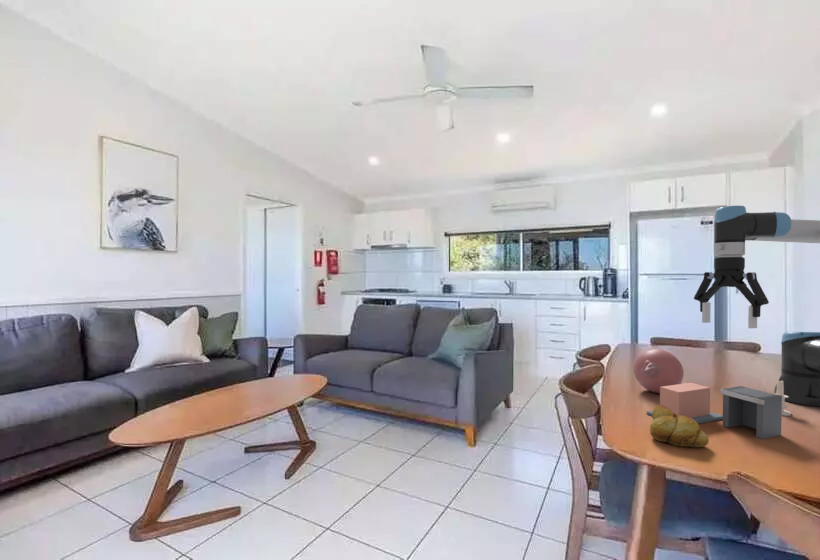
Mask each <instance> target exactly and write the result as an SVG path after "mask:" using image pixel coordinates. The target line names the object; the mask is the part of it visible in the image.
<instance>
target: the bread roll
mask: <svg viewBox="0 0 820 560" xmlns="http://www.w3.org/2000/svg"><path fill="white" fill-rule="evenodd" d="M651 417H652V420H651V423H650V428H649V433H650V436H652V438H654V439H655V441H656V440H657V441H658V442H665V443H669V444H670V445H673V446H678V447H692V448H703V447H706V446H707V445H708V444H709V441H710V440H709V439H710V438H709V436H708V435H707V434H706V432H704V431H703V430H701V429H700V425H699V424H700V423H697V422H696V421H695V420H693V419H692V418H690V417H687V416H684V415H678V416H676V414H675V413H674V412H672V411H671V410H670V409H669V408H667V407H665V406H663V405H660V404H659V405H656V406H655V407H654V408H653V412H652V416H651Z"/></svg>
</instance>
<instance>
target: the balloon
mask: <svg viewBox="0 0 820 560" xmlns="http://www.w3.org/2000/svg"><path fill="white" fill-rule="evenodd" d="M633 374H634V377H635V379H636V381H637V382H638V383H639V385H640V386H642V387H643V389H645V390H647V391H650V392H652V393H656V394H660V387H662V386H670V385H677V384H682V382H683V380H684V377H685V375H684V366H683V365H682V362H680V360H679V358H677V357H676V355H674V354H672V353H671V352H669V351H667V350H664V349H660V348H659V349H658V348H657V349H656V348H655V349H648V350H646V351H644V352H642V353H640V354H639V355H638V356H637V357H636V359H635V361H634V363H633Z"/></svg>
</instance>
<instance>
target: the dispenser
mask: <svg viewBox="0 0 820 560" xmlns="http://www.w3.org/2000/svg"><path fill="white" fill-rule="evenodd" d="M719 391H720V395H722V415H723V419H722V426H723V427H726V428H733V427H738V426H745V427H748V428H752V429H755V430H756V431H755V432H756V433H755V437H756V438H758V439H761V440H764V439H771V438H773V437H778V436H781V435H782V417H783V415H782V396H780V395H776V394H774V393H771V392H767V391H762V390H758V389H755V388H750V387H746V386H743V385H739V386H733V387H726V388H720V390H719Z"/></svg>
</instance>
